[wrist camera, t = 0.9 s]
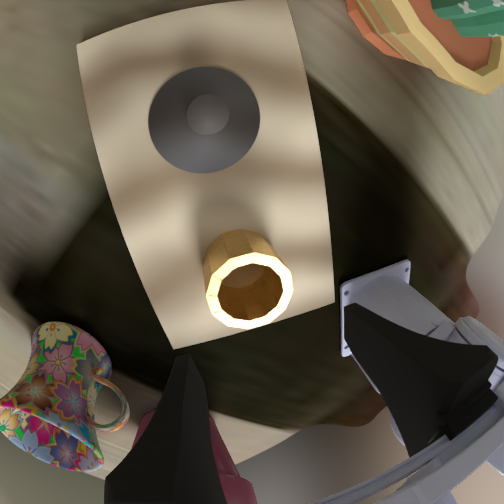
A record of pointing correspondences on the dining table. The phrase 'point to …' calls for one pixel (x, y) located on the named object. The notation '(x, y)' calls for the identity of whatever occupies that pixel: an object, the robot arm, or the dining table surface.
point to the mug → (61, 399)
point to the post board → (209, 153)
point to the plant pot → (219, 466)
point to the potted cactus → (439, 36)
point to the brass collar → (252, 296)
